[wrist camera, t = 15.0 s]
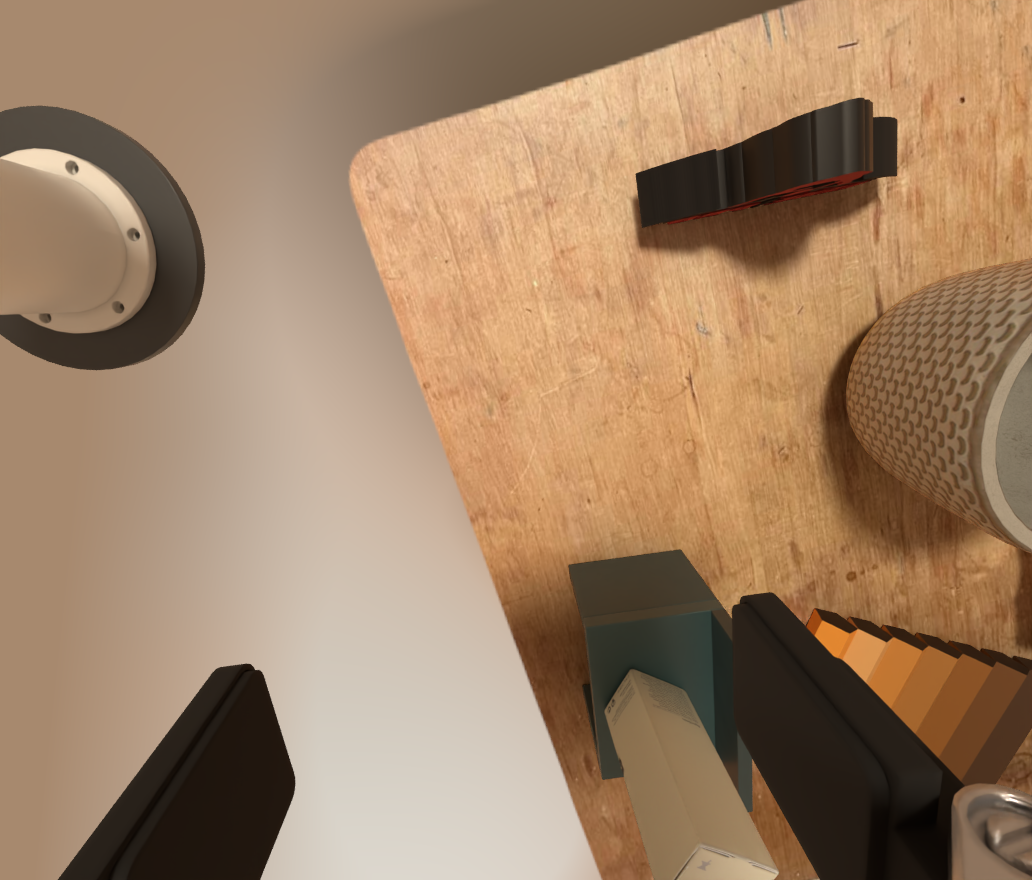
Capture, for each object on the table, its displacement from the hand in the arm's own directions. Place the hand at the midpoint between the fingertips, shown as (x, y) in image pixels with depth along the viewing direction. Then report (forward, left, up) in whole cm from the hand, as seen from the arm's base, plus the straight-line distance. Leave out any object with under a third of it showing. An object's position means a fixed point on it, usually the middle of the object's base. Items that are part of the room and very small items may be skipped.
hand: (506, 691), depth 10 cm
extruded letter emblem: (+20, +13, -32) cm, 40 cm away
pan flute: (+32, -40, -32) cm, 60 cm away
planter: (+33, -3, -32) cm, 46 cm away
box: (+8, -23, -23) cm, 34 cm away
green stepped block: (+9, -23, -32) cm, 40 cm away
